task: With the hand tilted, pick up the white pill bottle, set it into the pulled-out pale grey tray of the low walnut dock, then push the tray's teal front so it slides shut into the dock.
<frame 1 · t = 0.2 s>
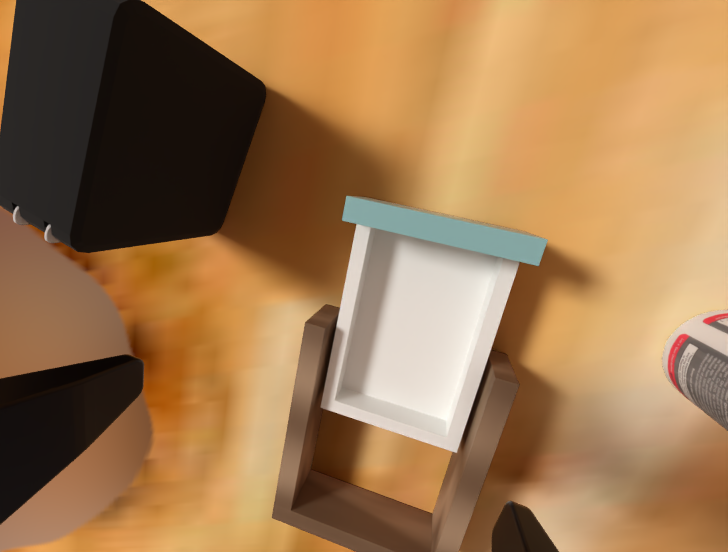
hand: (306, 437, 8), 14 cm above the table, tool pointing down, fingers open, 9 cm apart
electronic device: (219, 152, 22), on the table
pill bottle: (713, 353, 18), on the table
tray: (411, 330, 19), point 2 cm above the table, slide at 6.0 cm
dock: (395, 392, 23), on the table
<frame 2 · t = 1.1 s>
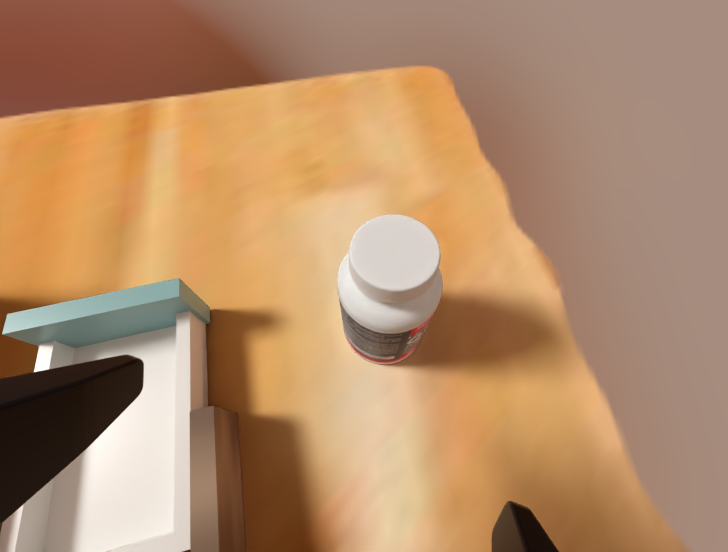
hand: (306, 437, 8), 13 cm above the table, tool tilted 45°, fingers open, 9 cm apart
pill bottle: (383, 327, 23), on the table
tray: (109, 421, 18), point 2 cm above the table, slide at 6.0 cm
dock: (129, 538, 18), on the table
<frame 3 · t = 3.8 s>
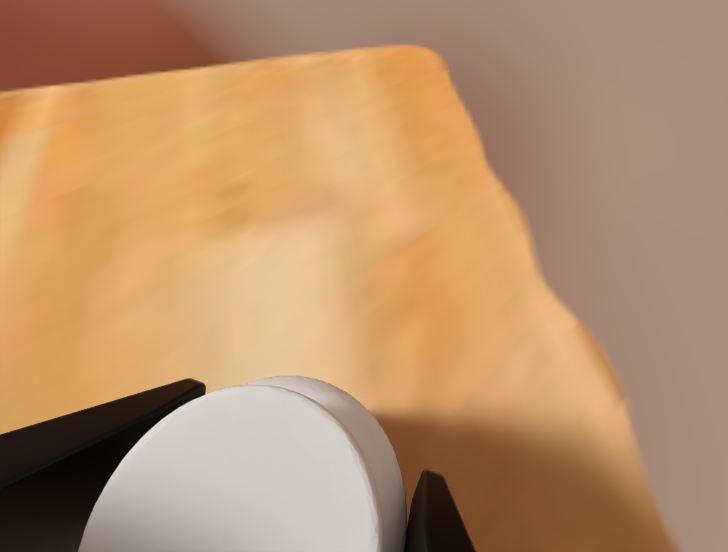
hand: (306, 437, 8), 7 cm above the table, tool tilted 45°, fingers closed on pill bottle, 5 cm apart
pill bottle: (318, 483, 13), on the table, touching gripper
when the fingers open (9 cm above the table, at t = 7.5 s): pill bottle drops 1 cm, resting on tray.
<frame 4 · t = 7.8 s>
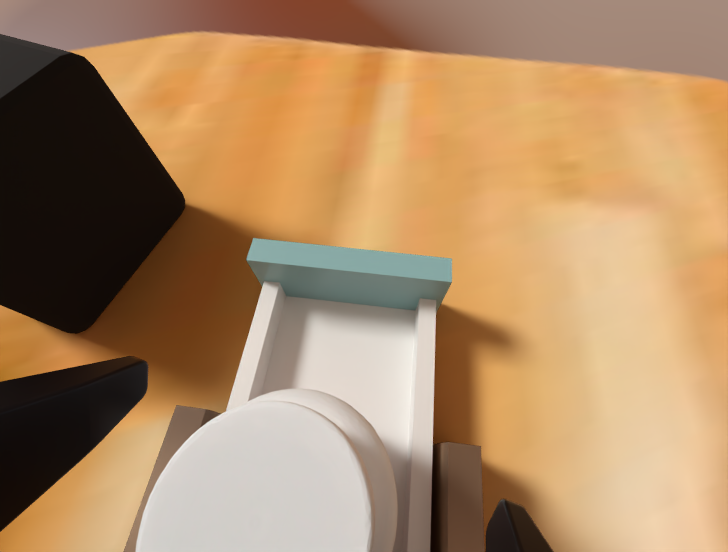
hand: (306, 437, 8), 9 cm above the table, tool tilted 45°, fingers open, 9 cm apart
electronic device: (116, 255, 21), on the table
pill bottle: (321, 482, 14), point 1 cm above the table, touching tray
tray: (330, 406, 14), point 2 cm above the table, slide at 6.0 cm, touching pill bottle
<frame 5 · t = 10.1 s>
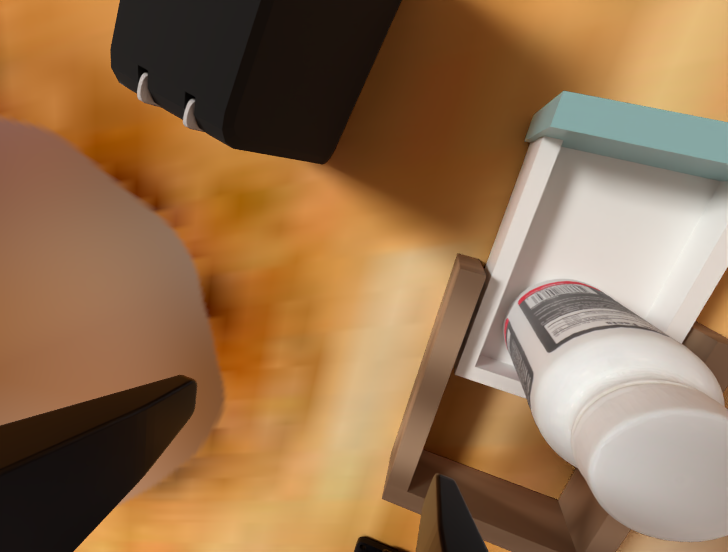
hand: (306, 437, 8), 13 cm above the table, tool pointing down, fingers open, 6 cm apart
electronic device: (336, 59, 18), on the table
pill bottle: (555, 324, 18), point 1 cm above the table, touching tray
tray: (593, 282, 15), point 2 cm above the table, slide at 6.0 cm, touching pill bottle
dock: (533, 361, 19), on the table
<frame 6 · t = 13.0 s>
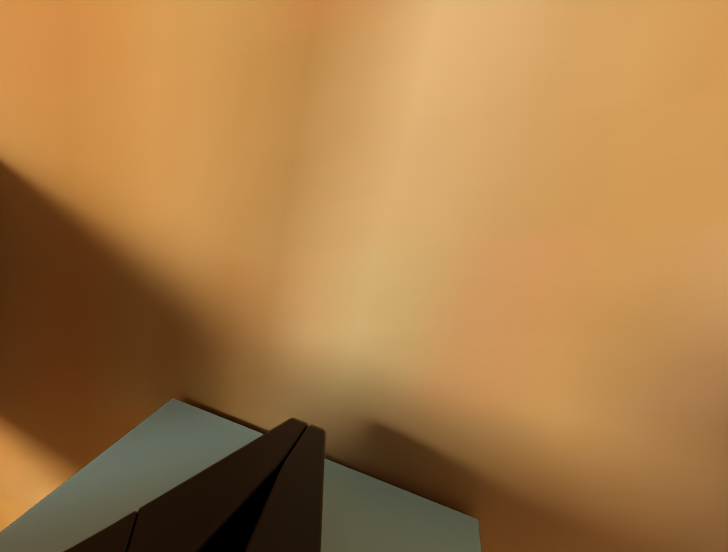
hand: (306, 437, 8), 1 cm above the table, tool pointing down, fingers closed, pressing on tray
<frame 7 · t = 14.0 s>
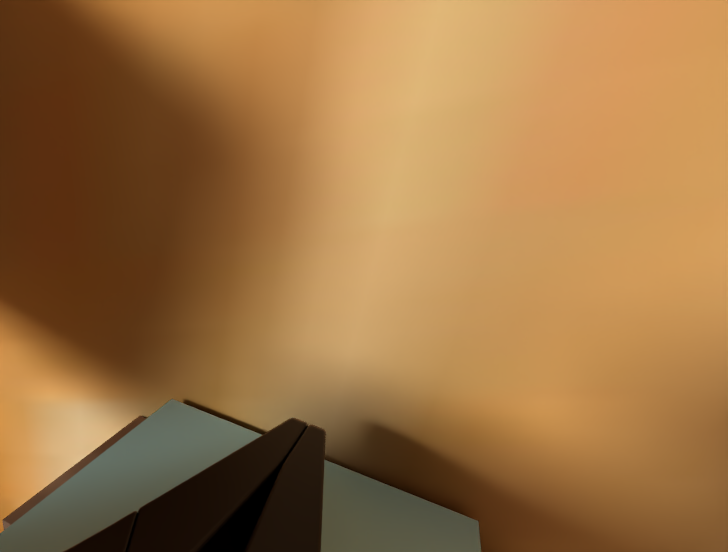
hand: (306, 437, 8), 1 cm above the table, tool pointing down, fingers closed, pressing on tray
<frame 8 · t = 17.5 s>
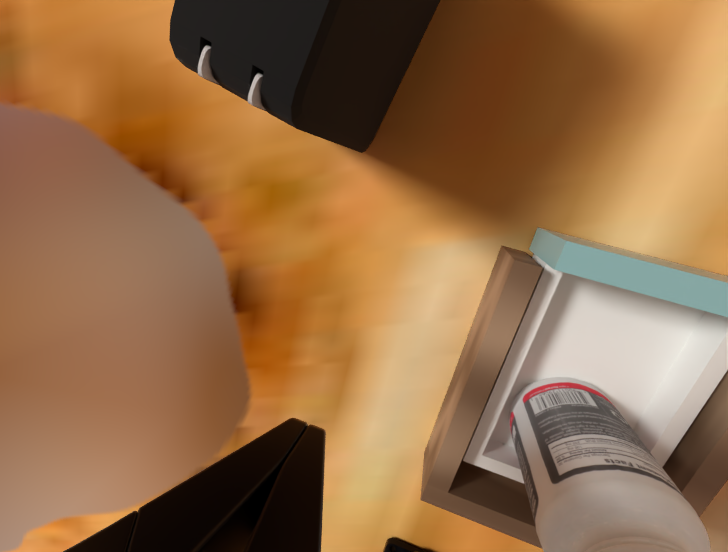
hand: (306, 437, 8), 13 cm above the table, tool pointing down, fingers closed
electronic device: (377, 42, 17), on the table
pill bottle: (557, 414, 19), point 1 cm above the table, touching tray
tray: (593, 388, 16), point 2 cm above the table, slide at 0.0 cm, touching pill bottle
dock: (578, 357, 19), on the table
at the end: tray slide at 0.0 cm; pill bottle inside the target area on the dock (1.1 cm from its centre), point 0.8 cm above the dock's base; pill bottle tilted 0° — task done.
